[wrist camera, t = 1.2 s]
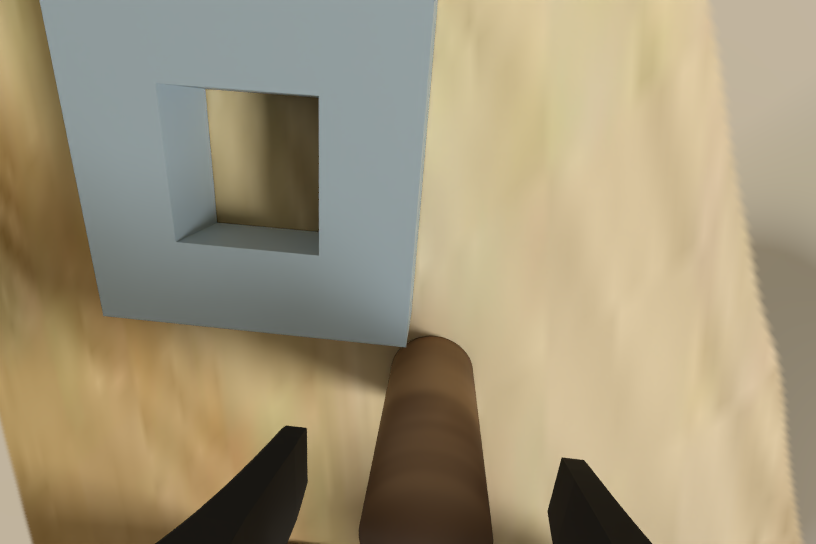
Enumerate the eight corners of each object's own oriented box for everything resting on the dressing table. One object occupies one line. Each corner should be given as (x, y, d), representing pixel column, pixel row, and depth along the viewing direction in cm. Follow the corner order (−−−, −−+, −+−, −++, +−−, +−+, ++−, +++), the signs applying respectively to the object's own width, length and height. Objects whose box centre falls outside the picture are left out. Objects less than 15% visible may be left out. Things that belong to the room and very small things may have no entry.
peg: (467, 410, 17) (483, 593, 10) (389, 401, 17) (356, 576, 11) (477, 340, 16) (503, 497, 9) (393, 332, 16) (361, 480, 10)
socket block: (411, 312, 16) (406, 347, 13) (152, 287, 16) (103, 316, 14) (437, 2, 12) (436, -25, 10) (105, -20, 13) (29, -51, 10)
